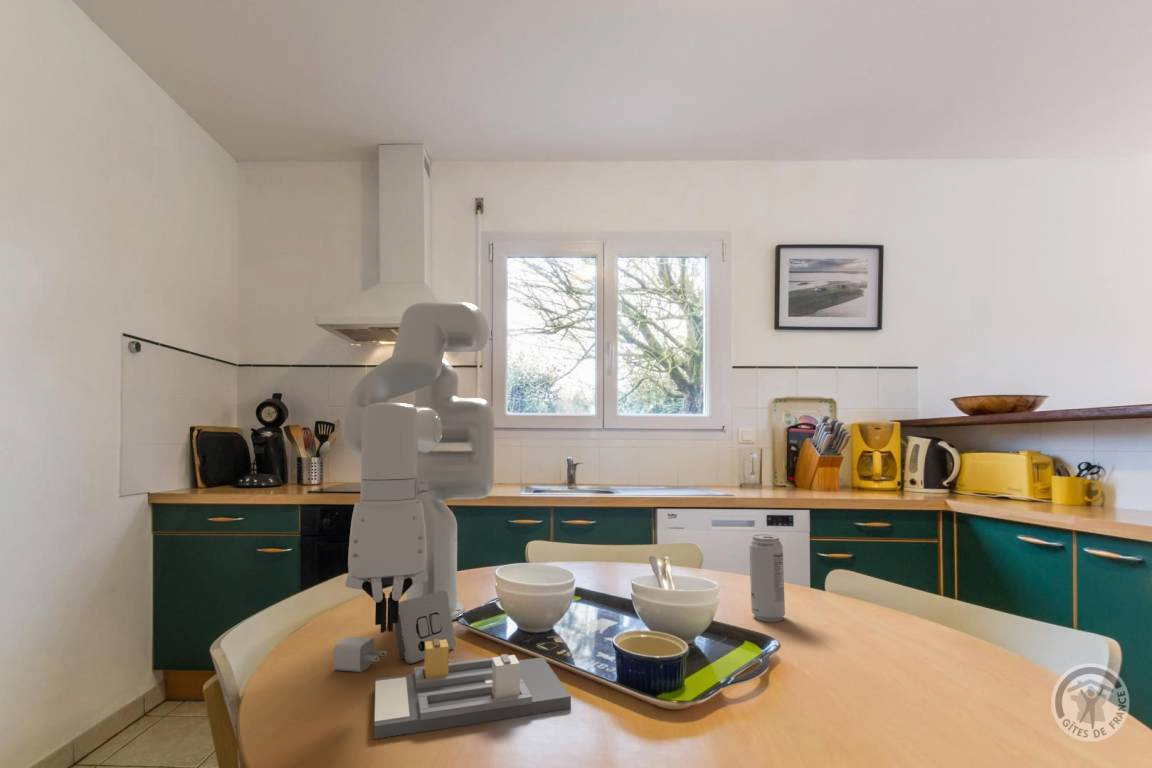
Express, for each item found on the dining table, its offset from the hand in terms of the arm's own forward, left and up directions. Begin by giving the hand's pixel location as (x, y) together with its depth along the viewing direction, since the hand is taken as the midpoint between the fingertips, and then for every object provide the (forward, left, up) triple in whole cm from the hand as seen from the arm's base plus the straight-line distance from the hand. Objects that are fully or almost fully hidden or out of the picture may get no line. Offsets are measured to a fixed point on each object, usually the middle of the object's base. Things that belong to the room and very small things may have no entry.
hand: (386, 629), depth 81 cm
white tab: (+8, +15, -8) cm, 18 cm away
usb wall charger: (-12, -3, -9) cm, 16 cm away
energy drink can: (-12, +69, -9) cm, 70 cm away
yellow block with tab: (-1, +7, -8) cm, 10 cm away
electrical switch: (-15, +6, -9) cm, 19 cm away
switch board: (+4, +11, -9) cm, 15 cm away
